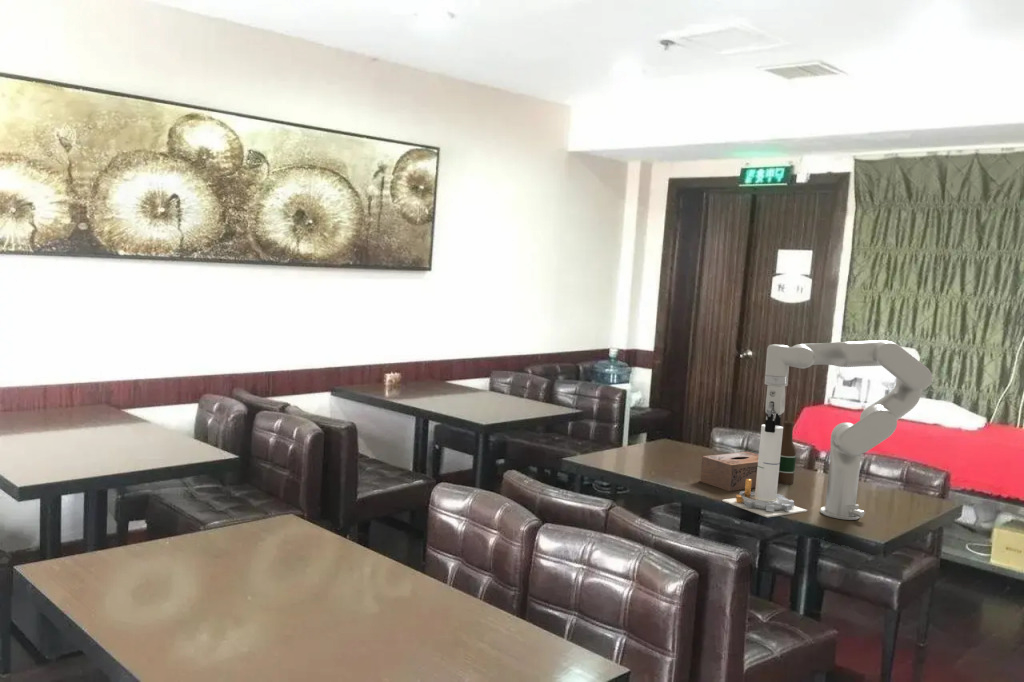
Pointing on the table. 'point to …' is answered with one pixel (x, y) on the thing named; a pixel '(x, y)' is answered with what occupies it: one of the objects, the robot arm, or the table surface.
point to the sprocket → (768, 505)
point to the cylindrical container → (768, 463)
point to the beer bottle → (787, 455)
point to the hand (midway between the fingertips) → (772, 430)
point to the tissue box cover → (729, 470)
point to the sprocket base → (764, 512)
